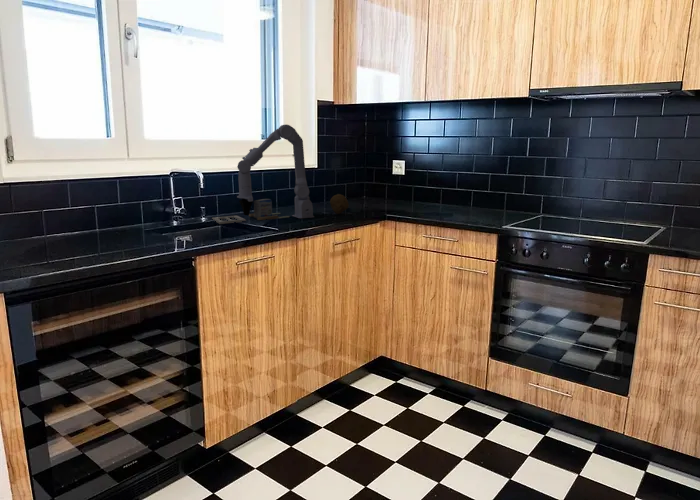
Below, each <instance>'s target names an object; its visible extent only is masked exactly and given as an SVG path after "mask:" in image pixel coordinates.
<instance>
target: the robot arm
mask: <svg viewBox="0 0 700 500" xmlns="http://www.w3.org/2000/svg"><path fill="white" fill-rule="evenodd" d="M282 139H284V140H287V141H288V142H289V143H291V145H292V146H293V147H292V148H293V160H294V162H293V163H294V172H295V173H294V174H295V186H294V189H293V192H294V194H295V196H294V198H293V199H294V214H291V216H292V217H294V218H298V219H299V220H300V219H308V218H315V215H314V210H313V209H314V207H313V205H314V204H313V203H312V201H311V200H310V189H309V186H308V181H307V176H306V166H305V151H304V149H305V148H304V141H303V138H302V137H301V136H300V134H299V133H298V132H297V130H296V128H294V127H292V125H290V124H281V125H280V126H279V127H278V128H276V129H275V130H274V131H272V132H271V133H270V134H269V135H268V136H267V137H266V139H264V140H263V141H262V143H260V145H259V146H258V147H253V148H250V149H249V152H248V153H247V154H246V155H245V156H242V157H241V159H242V160H240V161H239V162H238V163H237V167H236V168H237V170H238V177H237V178H238V191H239V192H238V195H237V196H236V198H237V199H239V200H238V203H239V204H240V206H241V209H242V213H243V215H244V216H249V214H251V208H252V205H253V204H254V197H253V193H252V192H253V191H252V190H253V189H252V177H251V168H252V167H254V166H255V165H257V163H258V162H259V161H261V159H262V158H263V157H264V152H265V151H266V150H267V149H268V148H270V146H272V145H273V143H275V142H276V141H280V140H282ZM240 199H241V200H240Z"/></svg>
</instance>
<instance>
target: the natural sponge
mask: <svg viewBox="0 0 700 500" xmlns="http://www.w3.org/2000/svg"><path fill="white" fill-rule="evenodd" d="M329 203H330V204H329V205H330V207H331V209H332V211H333V212H334V213H335V214H337V215H341V214H343V212H344V211H346V210H347V209H348V208H349V206H350V205H349V201H348V198H347V197H346V196H345V195H343V194H341V193H337V194H335V195H333V196H331V198H330V201H329Z"/></svg>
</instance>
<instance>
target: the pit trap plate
mask: <svg viewBox="0 0 700 500" xmlns="http://www.w3.org/2000/svg"><path fill="white" fill-rule="evenodd" d="M230 218H232V219H230ZM234 218H235V219H234ZM212 219H213V220H215V221H216V222H215V221H214V222H215V223H217V224H219V225H224V224H234V222H236V223H243V222H242V221H247V219H245V218H243V217H241V216H239V215H229V216H217V217H216V216H215V217H211V220H212ZM220 219H221V220H220ZM225 219H226V220H225ZM236 219H237V220H236ZM213 220H212V221H213ZM227 220H228V221H227Z"/></svg>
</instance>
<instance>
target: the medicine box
mask: <svg viewBox="0 0 700 500" xmlns="http://www.w3.org/2000/svg"><path fill="white" fill-rule="evenodd" d="M272 203H273V200H272V199H271V198H262V199H256V200H254V199H253V214H254V217H253V218H254V219H257V217H266V216H273V215H272V213H273V204H272Z"/></svg>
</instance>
